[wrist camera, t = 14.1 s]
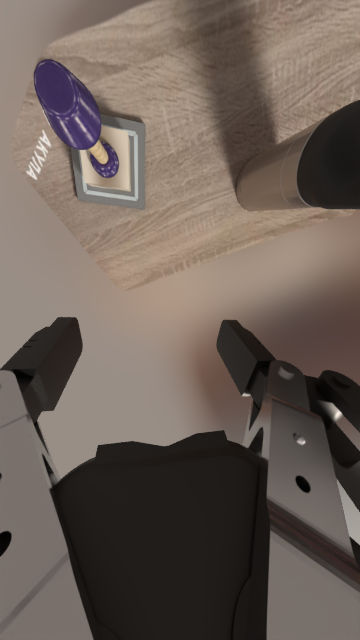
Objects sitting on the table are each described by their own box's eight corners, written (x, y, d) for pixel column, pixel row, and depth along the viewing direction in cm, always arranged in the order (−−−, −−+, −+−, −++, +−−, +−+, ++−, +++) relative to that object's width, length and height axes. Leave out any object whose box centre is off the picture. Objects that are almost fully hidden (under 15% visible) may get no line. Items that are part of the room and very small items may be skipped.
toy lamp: (81, 156, 26) (5, 85, 12) (99, 127, 25) (38, 12, 11) (108, 185, 29) (71, 153, 15) (126, 159, 28) (105, 98, 13)
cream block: (129, 141, 29) (127, 131, 26) (130, 191, 33) (129, 189, 29) (84, 131, 28) (76, 120, 25) (90, 185, 31) (84, 182, 28)
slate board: (145, 126, 29) (144, 123, 29) (144, 209, 35) (144, 209, 34) (66, 108, 27) (63, 104, 26) (79, 200, 33) (77, 200, 32)
